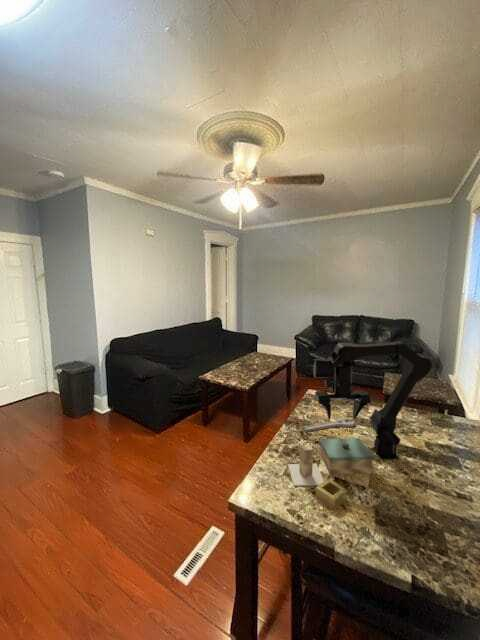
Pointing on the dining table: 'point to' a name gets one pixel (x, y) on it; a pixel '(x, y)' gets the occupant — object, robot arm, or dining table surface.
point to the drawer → (346, 456)
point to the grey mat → (307, 481)
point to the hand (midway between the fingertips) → (341, 418)
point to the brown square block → (306, 460)
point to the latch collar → (328, 498)
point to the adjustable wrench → (328, 425)
